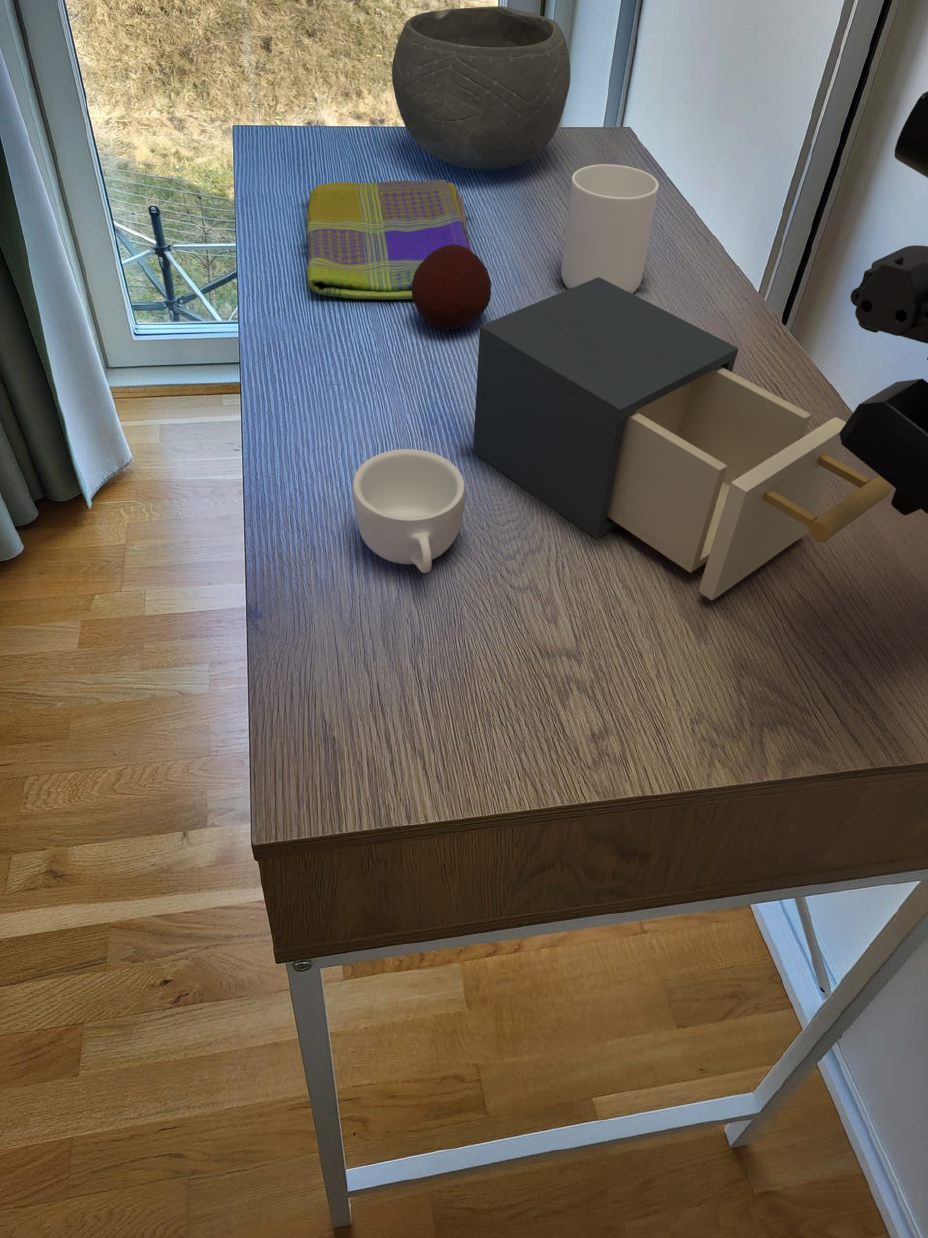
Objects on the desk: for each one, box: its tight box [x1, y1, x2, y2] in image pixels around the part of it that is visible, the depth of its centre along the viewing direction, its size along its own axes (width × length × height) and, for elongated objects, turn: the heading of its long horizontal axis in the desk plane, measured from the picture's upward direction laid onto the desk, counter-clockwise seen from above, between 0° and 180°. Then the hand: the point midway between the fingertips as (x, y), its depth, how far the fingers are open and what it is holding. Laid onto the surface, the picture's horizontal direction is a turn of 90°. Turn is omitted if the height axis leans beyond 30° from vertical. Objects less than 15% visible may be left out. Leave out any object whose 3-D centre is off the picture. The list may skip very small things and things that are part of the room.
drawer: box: [607, 366, 892, 601], centre depth 65 cm, size 17×11×9 cm, turn 41°
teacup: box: [351, 448, 466, 574], centre depth 65 cm, size 10×8×5 cm
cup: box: [560, 163, 660, 294], centre depth 95 cm, size 8×12×10 cm
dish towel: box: [306, 179, 471, 300], centre depth 100 cm, size 18×24×3 cm
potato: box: [411, 244, 492, 330], centre depth 88 cm, size 7×8×7 cm
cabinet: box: [472, 277, 739, 540], centre depth 72 cm, size 14×13×11 cm
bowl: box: [391, 5, 572, 171], centre depth 114 cm, size 21×21×15 cm
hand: (900, 507), depth 54 cm, fingers closed
